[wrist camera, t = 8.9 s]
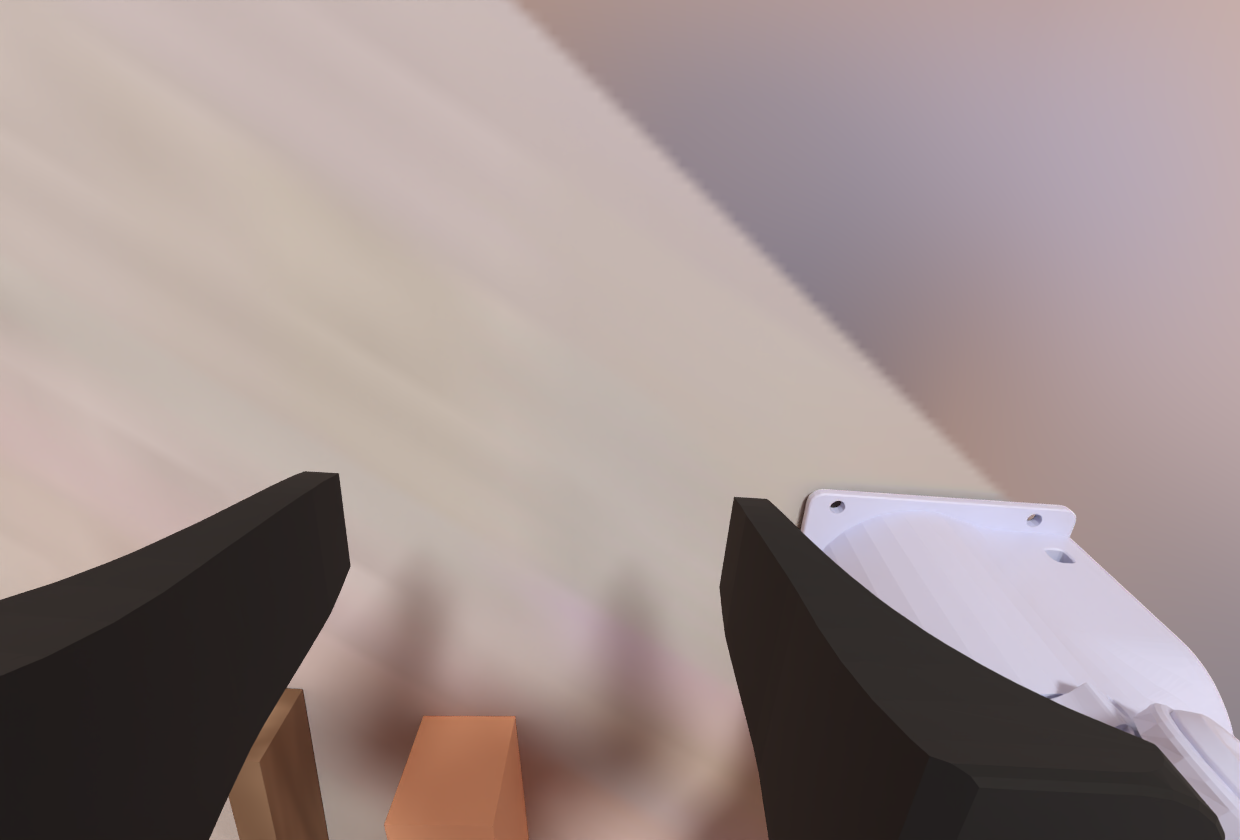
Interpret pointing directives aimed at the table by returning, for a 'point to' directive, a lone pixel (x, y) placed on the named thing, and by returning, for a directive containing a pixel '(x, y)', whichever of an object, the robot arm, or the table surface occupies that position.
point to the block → (461, 782)
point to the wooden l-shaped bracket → (280, 779)
